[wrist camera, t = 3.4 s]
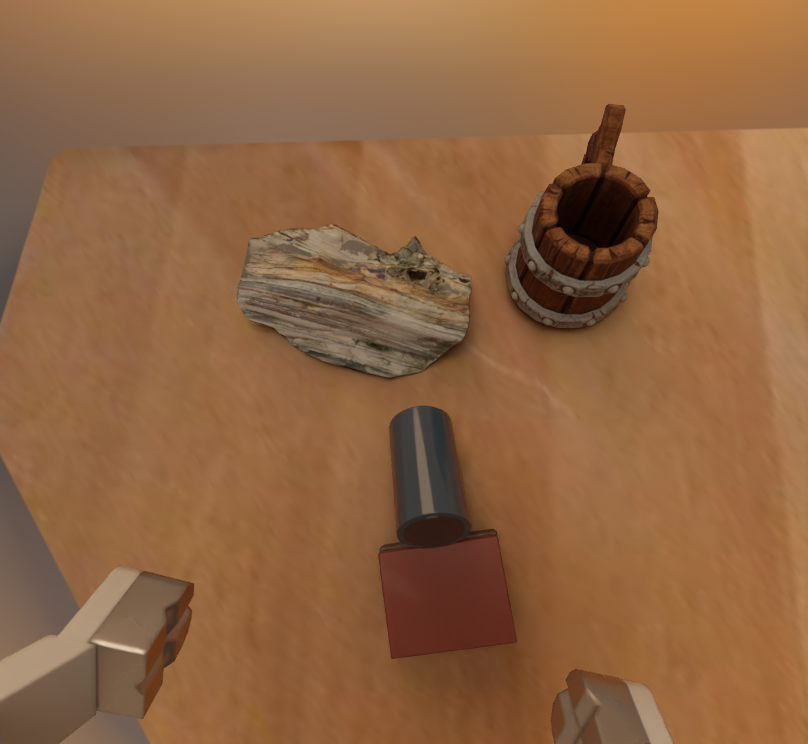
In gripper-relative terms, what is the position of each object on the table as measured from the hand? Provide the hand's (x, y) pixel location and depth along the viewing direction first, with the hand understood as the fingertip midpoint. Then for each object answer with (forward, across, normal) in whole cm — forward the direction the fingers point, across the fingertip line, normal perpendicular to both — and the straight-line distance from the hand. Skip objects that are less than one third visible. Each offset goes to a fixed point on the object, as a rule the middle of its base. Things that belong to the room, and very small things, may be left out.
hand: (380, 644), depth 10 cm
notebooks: (+24, -8, +22) cm, 34 cm away
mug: (+42, -14, -5) cm, 44 cm away
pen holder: (+30, -3, +11) cm, 32 cm away
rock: (+40, +6, +4) cm, 41 cm away
